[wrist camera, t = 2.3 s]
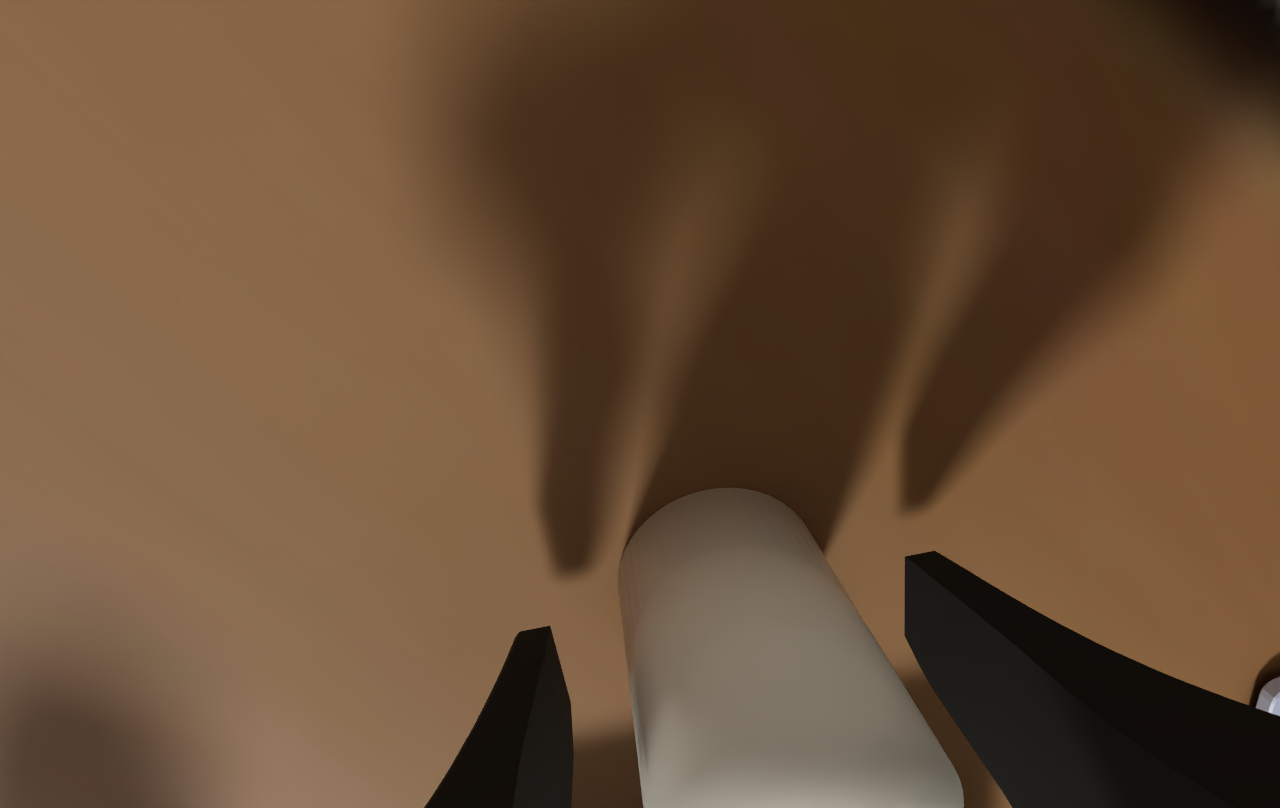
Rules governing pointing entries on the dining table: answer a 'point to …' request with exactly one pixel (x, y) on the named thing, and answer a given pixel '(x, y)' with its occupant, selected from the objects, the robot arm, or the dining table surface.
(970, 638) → the robot arm
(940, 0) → the dining table surface
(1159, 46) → the dining table surface
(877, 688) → the white capsule cylinder
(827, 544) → the dining table surface
